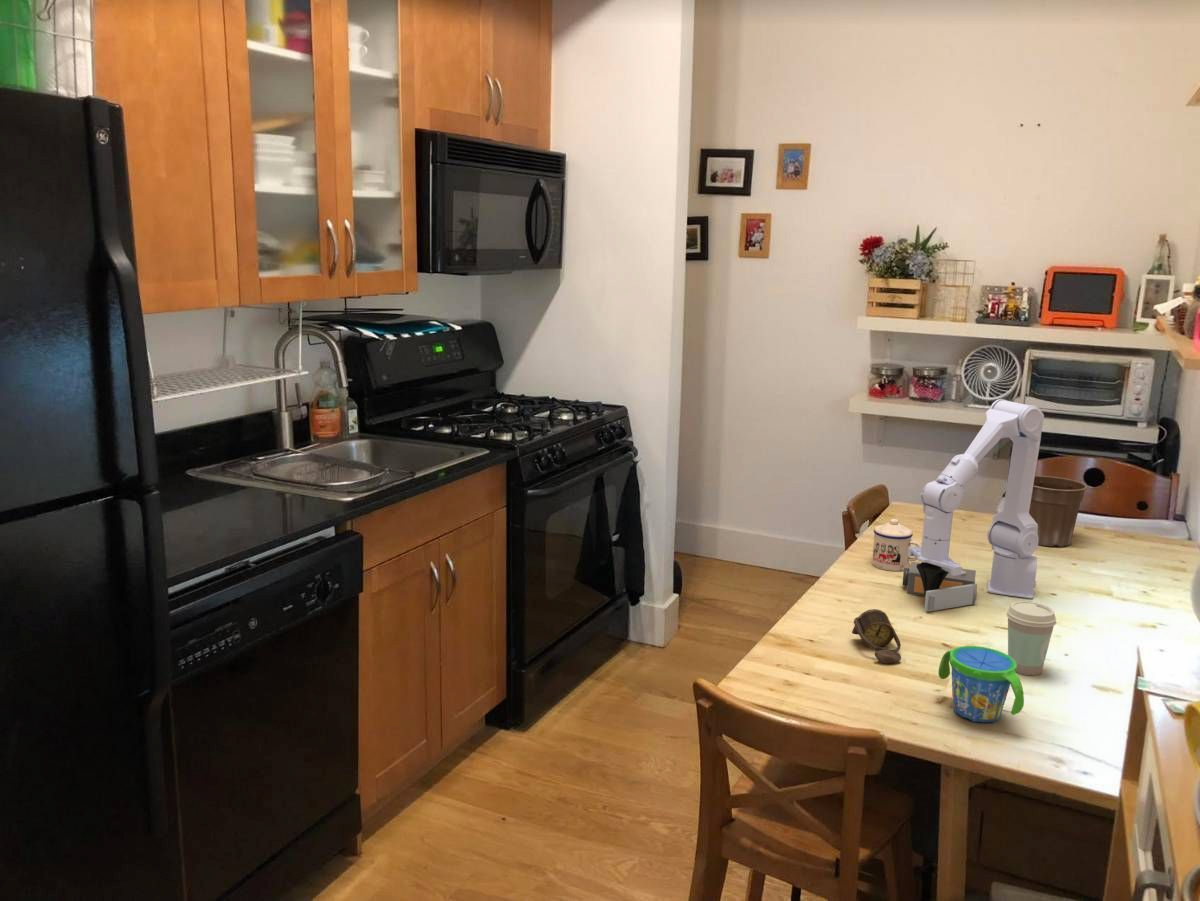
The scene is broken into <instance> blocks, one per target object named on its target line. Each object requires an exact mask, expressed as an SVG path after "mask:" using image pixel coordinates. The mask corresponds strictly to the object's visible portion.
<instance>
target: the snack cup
mask: <svg viewBox="0 0 1200 901" xmlns="http://www.w3.org/2000/svg"><path fill="white" fill-rule="evenodd" d="M1016 669H1017V664H1016V662H1015V660H1014V659H1013V658H1011V657H1010V656H1009V655H1008V653H1007V654H1006V653H1005V652H1002V651H1000V650H998V649H994V648H991V647H985V646H980V645H963V646H957V647H955V648H953V649H950V650H947V651H946V652H945V653H944V654H943V655H942V657H941V660H940V663H939V666H938V676H939V678H940V679H941V680H947V678H949V677H950V674H951V689H952V690H951V692H952V706H953V711H954V712H955V713H956V714H958V715H959V716H961V717H962V718H965V719H968V720H969V721H972V722H973V723H976V722H980V723H995V722H996V721H997V720H999V718H1000V717H1001V715H1002V712H1003V709H1004V705H1005V703H1006V701H1007V696H1008V694H1009V690H1010V687H1011V689H1012V692H1013V695H1014V697H1015V698H1014V700H1013V704H1012V707H1011V711H1010V714H1011V715H1012V716H1014V715H1016V714H1017V715H1018V714H1019V713H1020V712H1021V711H1023V708H1024V705H1025V696H1024V688H1023V684H1022V682H1021V679H1020V677H1019V676H1018V674H1017V672H1016Z"/></svg>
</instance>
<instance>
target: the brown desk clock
mask: <svg viewBox="0 0 1200 901" xmlns="http://www.w3.org/2000/svg"><path fill="white" fill-rule="evenodd" d="M853 625H854V626H853V628H852V631H851V634H853V635H858V636H859V638H860V639H861V641H862V643H863V644H864V645H865V646H866V647H868V648H871V649H872V650H874V651H875V652H874V656H875V658H876V659H877V660H878V661H879V662H881V663H882V664H895V663H899V662H901V660H902V656H901V654H899V653H898V652H899V651H900V649H901V646H902V644H901V641H900V639H899V636H898V635H897V633H896V631H895V629H894V626H893V625H892V623H891V620H890V619H889V616H888V615H887V614H886V612H885V611H883V610H881V609H876V608H875V609H874V608H873V609H868V610H866V611H864V612H862V613H860V614H859V615H858V616H857V617H855V618H854V619H853ZM892 640H894V642H895V644H896V648H895V649H887V648H885V647H886V646H888V645H889V644H890V643H891V642H892Z"/></svg>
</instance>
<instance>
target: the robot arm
mask: <svg viewBox="0 0 1200 901" xmlns="http://www.w3.org/2000/svg"><path fill="white" fill-rule="evenodd" d="M1044 418H1045V414H1044V413H1043V412H1042V410H1041V409H1040V408H1039V407H1038V406H1037V405H1034V404H1033V405H1032V404H1030V405H1029V404H1025V403H1019V402H1015V401H1010V400H1006V399H1004V398H1000V399H999V398H998V399H997V400H995V401H994V402H992V404H991V405H990V407H989V409H987V411H985V421H984V422H985V423H984V424H983V425H982V427H981V429H980V430H979V431H978V432H977V434H976V436H975V437H974V439H972V442H971V443H970V444H969V446H968V448H967V449H966V450H965V452H964V453H961V454H957V455H955V456H953V457H952V458H951V460H950V462H949V463H948V464H947V465H946V467H945V468H944V469H943V470H942V472H941V473H940V474H939V475H938V477H937V478H936V479H935V480H932V481H929V482H927V483H926V484H925V485H924V486H923V489H922V491H921V492H920V493H919V498H920V501H921V503H922V512H923V513H924V517H923V526H922V527H923V528H922V537H921V538H922V539H921V545H922V546H921V548H919V547H917V546H916V545H913V546H911V547H908V556H910V557H913V558H915V557H916V558H917V560H916V561H919V563H921V564H917V569H918V571H919V573H920V576H921V579H922V583H923V588H924V594H925V596H924V597H926V591H930V590H936V589H939V588H940V585H941V583H942V581H943V580H944V578H945V577H946V576H947V574H948V573H949V572H950V573H951V575H953V576H957V575H961V572H962V569H963V566H962V565H960V564H958V563H957V562H955V561H954V560H953V559H952V558H951V557H950V556H949V555H950V548H951V547H950V546H951V535H952V526H953V518H954V517H953V516H954V511H955V510H957V509H958V508H959V506H960V505H961V503H962V497H963V495H964V494H965V493H964V492H965V489H966V487H968V485H969V484H970V482H971V481H972V480H973V479H974V477H975V476H976V475H977V474H978V473H979V463H980V461H981V460H982V459H983V458H984V457H985V456H986V455H987V454H988V453H989V452H990V451H991V450H992V449H993V448H994V447H995V446H996V444H998V442H999V441H1000V440H1002V439H1006V438H1009V439H1010V440H1011V442H1012V450H1011V456H1010V461H1009V462H1010V463H1009V469H1008V476H1007V482H1006V488H1005V495H1004V502H1003V508H1002V510H1001V511H999V512H997V513H996V514H994V515H993V516H992V521H991V524H990V526H989V528H988V531H987V541H988V543H989V545H991V551H993V556H992V564H991V565H992V566H991V574H990V579H989V580H988V581H987V593H988V594H996V595H1002V596H1010V597H1018V598H1024V599H1031V600H1032V599H1034V593H1035V589H1036V585H1037V584H1036V583H1037V581H1036V575H1037V569H1038V568H1037V567H1038V557H1037V556H1036V555H1034V553H1035V552H1036V551H1037V548H1038V547H1039V545H1038V534H1037V529H1038V524H1037V523H1036V522H1035V521H1034V519H1033V518H1032V517H1031V515H1030V514H1029V509H1030V503H1031V496H1032V490H1033V484H1034V478H1035V476H1036V470H1037V464H1038V457H1039V453H1040V446H1041V445H1040V444H1041V440H1042V431H1043V425H1044Z"/></svg>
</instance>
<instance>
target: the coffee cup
mask: <svg viewBox="0 0 1200 901" xmlns="http://www.w3.org/2000/svg"><path fill="white" fill-rule="evenodd" d="M1005 615H1006V617H1007V655H1009V656H1010V657H1011V658H1013V659H1014V660H1015V662H1016V664H1017V669H1016V674H1017V673H1018V674H1020V675H1025V676H1039V675H1040V674H1041V673H1042V671H1043V668H1044V664H1045V660H1046V657H1047V654H1048V649H1049V645H1050V642H1051V639H1052V638H1051V637H1052V633H1053V630H1054V626H1055V625H1057V618H1056V615H1055V611H1054V609H1053V608H1051V607H1049V606H1048V605H1045V604H1042V603H1039V602H1034V601H1023V600H1022V601H1021V600H1019V601H1015V602H1012V603H1011V604H1010V606H1009V608H1008V609H1007V612H1006V614H1005Z"/></svg>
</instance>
